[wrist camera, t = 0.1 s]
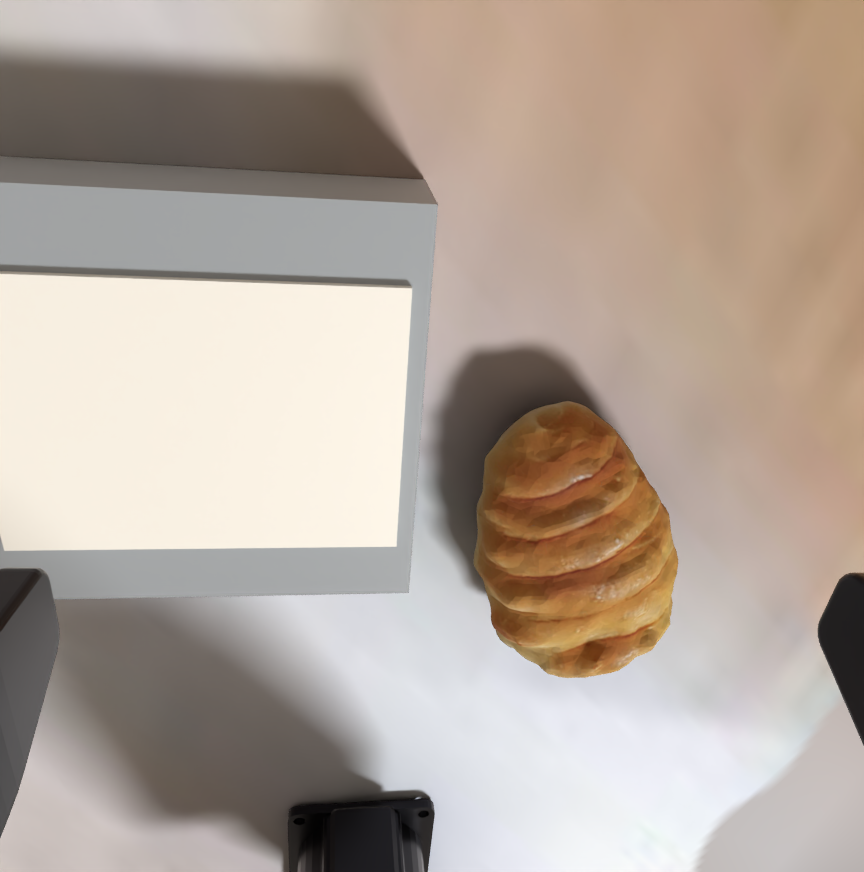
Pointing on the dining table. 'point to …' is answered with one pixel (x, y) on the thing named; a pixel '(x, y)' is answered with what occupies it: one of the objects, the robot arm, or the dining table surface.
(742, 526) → the dining table surface
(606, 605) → the pastry
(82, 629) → the dining table surface
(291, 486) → the plinth
